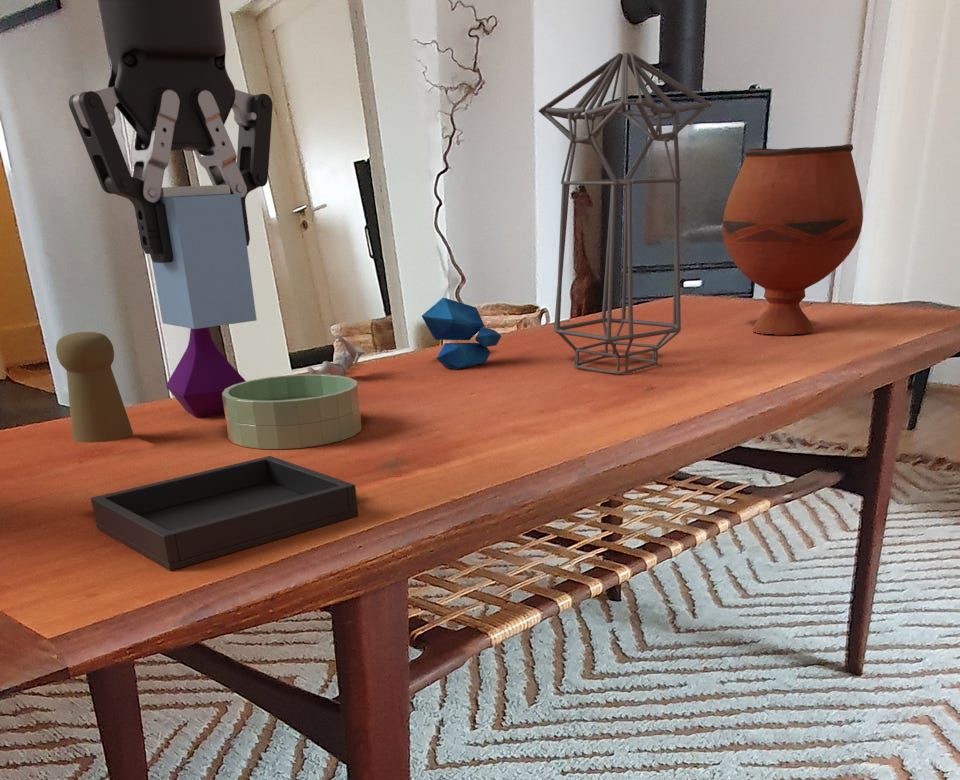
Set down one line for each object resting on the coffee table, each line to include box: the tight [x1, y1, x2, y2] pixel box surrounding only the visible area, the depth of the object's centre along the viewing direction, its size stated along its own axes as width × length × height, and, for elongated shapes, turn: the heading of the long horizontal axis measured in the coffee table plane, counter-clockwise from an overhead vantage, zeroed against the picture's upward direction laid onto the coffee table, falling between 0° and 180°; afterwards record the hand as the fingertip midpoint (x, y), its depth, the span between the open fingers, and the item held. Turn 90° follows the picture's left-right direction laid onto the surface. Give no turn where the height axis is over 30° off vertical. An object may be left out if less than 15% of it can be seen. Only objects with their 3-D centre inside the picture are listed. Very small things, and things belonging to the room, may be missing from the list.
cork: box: [55, 331, 135, 444], centre depth 95 cm, size 6×6×11 cm
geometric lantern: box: [538, 52, 713, 375], centre depth 118 cm, size 16×16×35 cm
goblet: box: [721, 143, 864, 336], centre depth 140 cm, size 19×19×25 cm
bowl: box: [222, 373, 362, 450], centre depth 97 cm, size 13×13×5 cm
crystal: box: [421, 297, 502, 370], centre depth 128 cm, size 7×9×12 cm
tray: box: [90, 455, 359, 572], centre depth 74 cm, size 16×13×2 cm
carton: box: [151, 184, 257, 330], centre depth 69 cm, size 5×5×9 cm
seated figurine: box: [307, 335, 366, 377], centre depth 122 cm, size 8×5×12 cm
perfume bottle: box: [165, 327, 246, 419], centre depth 104 cm, size 8×8×18 cm
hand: (199, 257), depth 69 cm, fingers closed on carton, 5 cm apart
